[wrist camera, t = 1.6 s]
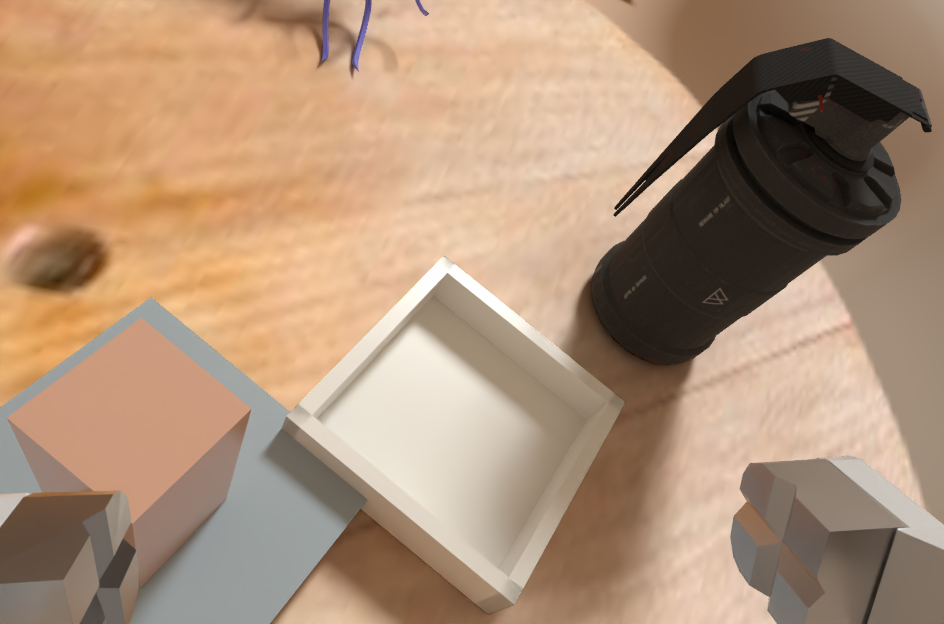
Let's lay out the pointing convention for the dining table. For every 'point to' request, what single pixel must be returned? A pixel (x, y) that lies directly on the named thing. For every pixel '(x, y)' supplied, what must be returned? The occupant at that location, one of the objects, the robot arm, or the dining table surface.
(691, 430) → the dining table surface
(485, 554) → the box
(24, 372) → the dining table surface
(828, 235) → the grenade
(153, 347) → the tall salmon pillar
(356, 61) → the squid
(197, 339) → the plate
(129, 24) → the dining table surface
